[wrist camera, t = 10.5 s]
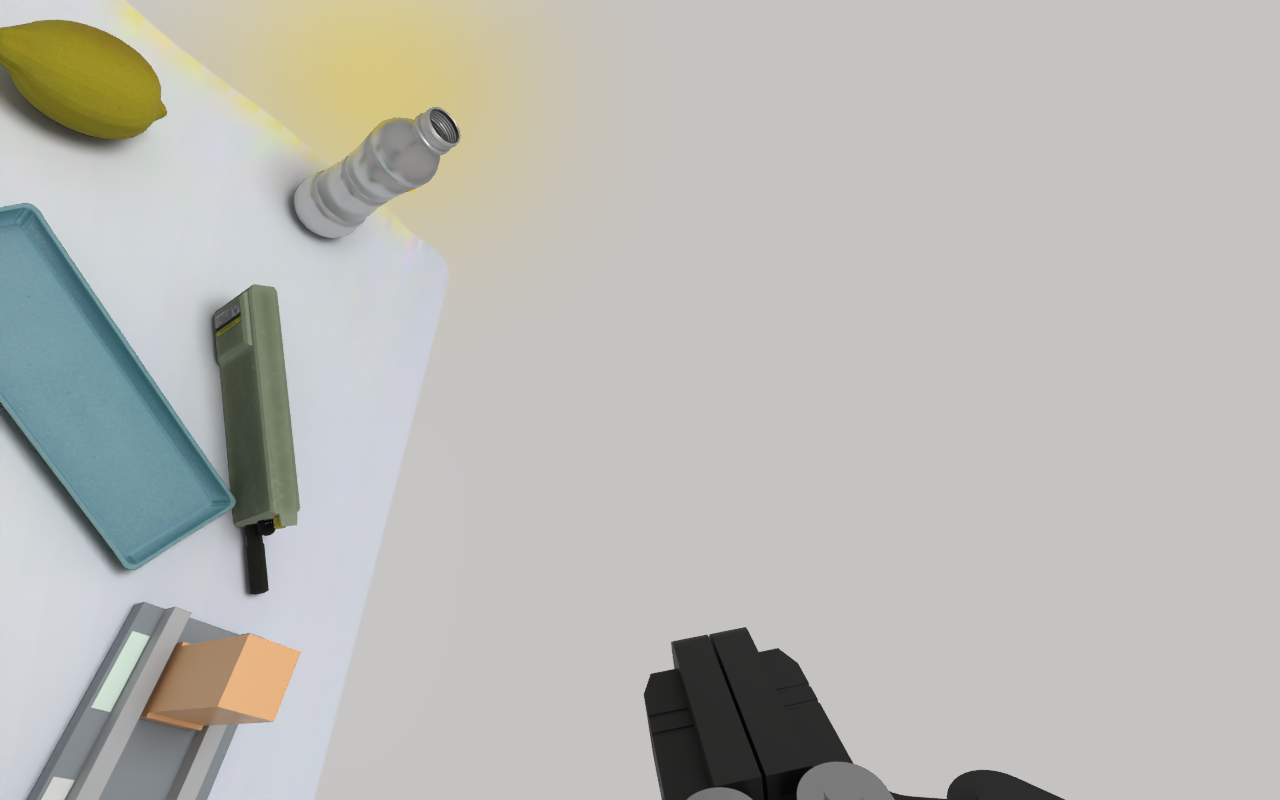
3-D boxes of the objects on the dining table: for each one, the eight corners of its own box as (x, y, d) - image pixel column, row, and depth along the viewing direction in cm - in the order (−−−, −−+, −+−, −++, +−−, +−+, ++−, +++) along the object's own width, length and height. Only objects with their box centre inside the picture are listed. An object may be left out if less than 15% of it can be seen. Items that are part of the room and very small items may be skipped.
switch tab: (192, 730, 49) (271, 726, 44) (137, 717, 46) (214, 711, 41) (224, 659, 52) (302, 647, 47) (174, 643, 49) (251, 629, 44)
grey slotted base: (143, 924, 45) (164, 929, 44) (-37, 914, 39) (-19, 920, 37) (260, 647, 56) (281, 644, 54) (134, 604, 49) (154, 599, 48)
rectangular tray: (227, 508, 57) (243, 502, 56) (117, 578, 49) (132, 572, 48) (21, 214, 51) (34, 200, 49) (-142, 242, 43) (-132, 227, 42)
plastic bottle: (350, 248, 74) (480, 167, 64) (292, 240, 69) (424, 150, 59) (336, 192, 75) (463, 104, 65) (277, 180, 69) (406, 80, 59)
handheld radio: (246, 315, 63) (273, 591, 58) (207, 309, 60) (232, 599, 55) (284, 288, 59) (316, 581, 54) (244, 281, 56) (274, 588, 52)
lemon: (150, 106, 60) (195, 59, 56) (134, 178, 58) (180, 134, 53) (-11, 22, 52) (28, -41, 48) (-39, 102, 49) (0, 42, 45)
